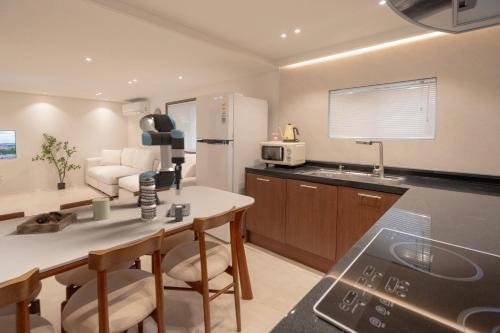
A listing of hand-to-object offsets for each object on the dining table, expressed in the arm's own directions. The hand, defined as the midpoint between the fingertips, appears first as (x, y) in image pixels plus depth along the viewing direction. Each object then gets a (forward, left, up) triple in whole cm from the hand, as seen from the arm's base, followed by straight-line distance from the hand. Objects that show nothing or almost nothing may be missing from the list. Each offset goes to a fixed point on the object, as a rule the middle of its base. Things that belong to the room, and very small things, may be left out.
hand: (178, 192), depth 154 cm
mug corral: (-69, +2, -17) cm, 71 cm away
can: (-46, +12, -17) cm, 51 cm away
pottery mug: (-70, +3, -17) cm, 72 cm away
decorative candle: (-18, +6, -17) cm, 26 cm away
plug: (0, 0, -17) cm, 17 cm away
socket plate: (0, +16, -17) cm, 23 cm away
